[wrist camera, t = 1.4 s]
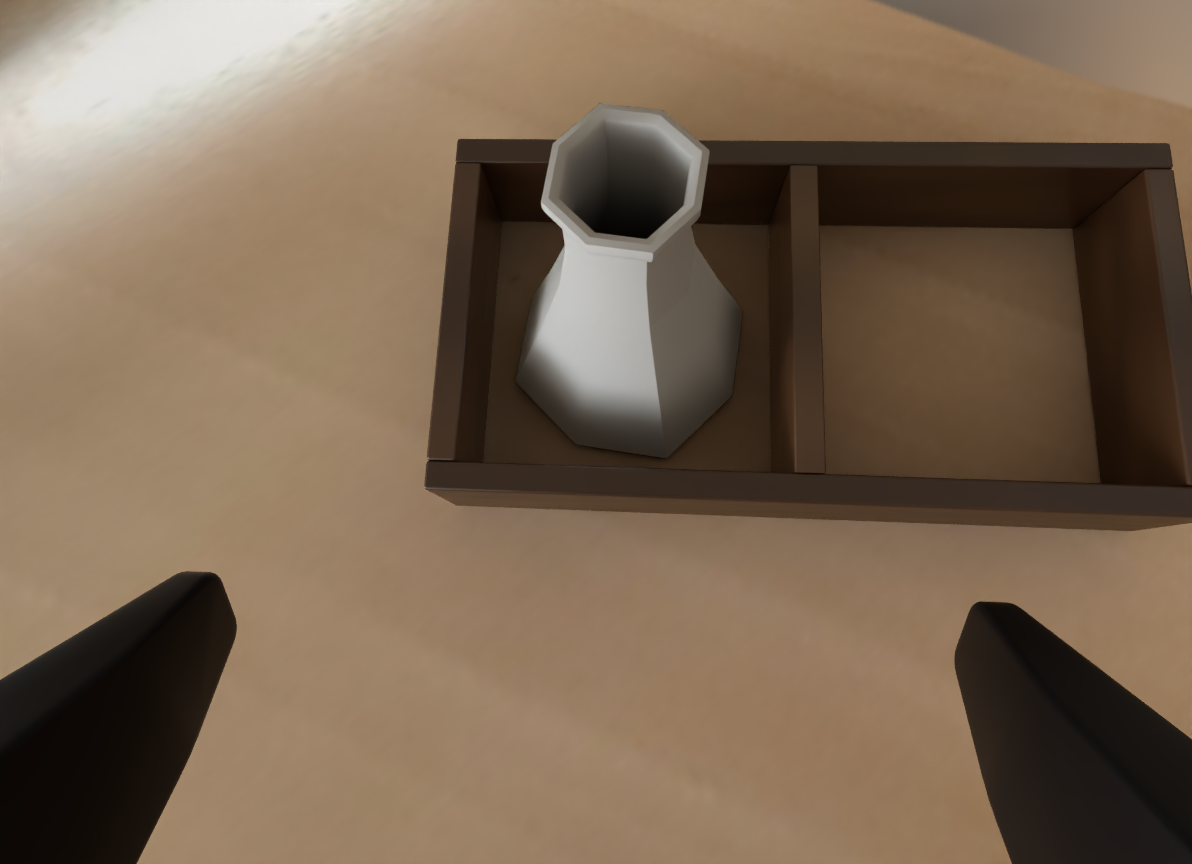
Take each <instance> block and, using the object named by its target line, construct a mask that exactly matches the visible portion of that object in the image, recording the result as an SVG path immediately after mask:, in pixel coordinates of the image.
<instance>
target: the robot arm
mask: <svg viewBox="0 0 1192 864" xmlns="http://www.w3.org/2000/svg"><path fill="white" fill-rule="evenodd" d="M236 630H237V624H236V618H235V615H234V612H233V610H232V607H231V604H230V602H229V599H228V596H227V594H226V591H225V589H224V586H223V583H222V581H221V579H220V578H219V577H218V576H217V575H216V574H215V573H211V572H191V571H186V572H181V573H178V574H176V575H174V576H172V577H171V578H169V579H167V580H166V581H164V582H162V583H161V584H159V585H157V586H156V587H154V588H152V589H151V590H149V591H147V592H146V593H144V594H142V595H141V596H139V597H137V598H136V599H134V600H132V601H131V602H129V603H127V604H126V605H124V606H122V607H121V608H119V609H117V610H116V611H114V612H113V613H111V614H109V615H108V616H106V617H104V618H103V619H101V620H99V621H98V622H96V623H94V624H93V625H91V626H89V627H88V628H86V629H84V630H83V631H81V632H79V633H78V634H76V635H74V636H73V637H71V638H69V639H68V640H66V641H64V642H63V643H61V644H59V645H58V646H56V647H54V648H53V649H51V650H49V651H48V652H46V653H44V654H43V655H41V656H39V657H38V658H36V659H34V660H33V661H31V662H29V663H28V664H26V665H24V666H23V667H21V668H19V669H18V670H16V671H14V672H13V673H11V674H9V675H8V676H6V677H4V678H3V679H1V680H0V864H137V862H138V860H139V858H140V856H141V854H142V852H143V850H144V848H145V846H146V844H147V842H148V840H149V838H150V836H151V834H152V832H153V830H154V828H155V826H156V824H157V822H158V820H159V818H160V816H161V814H162V812H163V810H164V808H165V806H166V804H167V802H168V800H169V798H170V796H171V794H172V792H173V790H174V788H175V786H176V784H177V782H178V780H179V778H180V776H181V774H182V771H183V769H184V767H185V765H186V763H187V761H188V759H189V757H190V754H191V752H192V750H193V747H194V745H195V742H196V740H197V738H198V735H199V732H200V730H201V727H202V725H203V722H204V719H205V717H206V714H207V711H208V709H209V706H210V704H211V701H212V698H213V696H214V693H215V690H216V688H217V685H218V682H219V680H220V677H221V675H222V672H223V669H224V667H225V664H226V661H227V659H228V656H229V654H230V651H231V648H232V646H233V643H234V640H235V636H236ZM955 670H956V675H957V679H958V682H959V686H960V690H961V694H962V698H963V702H964V706H965V710H966V714H967V718H968V722H969V726H970V730H971V734H972V738H973V742H974V746H975V749H976V753H977V757H978V761H979V765H980V769H981V773H982V777H983V781H984V784H985V788H986V791H987V795H988V798H989V801H990V804H991V807H992V810H993V813H994V816H995V819H996V822H997V824H998V827H999V830H1000V832H1001V835H1002V838H1003V841H1004V843H1005V846H1006V849H1007V851H1008V854H1009V857H1010V859H1011V862H1012V864H1192V739H1191V738H1189V737H1188V736H1187V735H1186V734H1184V733H1183V732H1182V731H1180V730H1179V729H1178V728H1176V727H1175V726H1174V725H1173V724H1171V723H1170V722H1169V721H1167V720H1166V719H1165V718H1163V717H1162V716H1161V715H1159V714H1158V713H1157V712H1156V711H1154V710H1153V709H1152V708H1150V707H1149V706H1148V705H1146V704H1145V703H1144V702H1142V701H1141V700H1140V699H1139V698H1137V697H1136V696H1135V695H1133V694H1132V693H1131V692H1129V691H1128V690H1127V689H1126V688H1124V687H1123V686H1122V685H1120V684H1119V683H1118V682H1116V681H1115V680H1114V679H1112V678H1111V677H1110V676H1109V675H1107V674H1106V673H1105V672H1103V671H1102V670H1101V669H1099V668H1098V667H1097V666H1095V665H1094V664H1093V663H1092V662H1090V661H1089V660H1088V659H1086V658H1085V657H1084V656H1082V655H1081V654H1080V653H1078V652H1077V651H1076V650H1075V649H1073V648H1072V647H1071V646H1069V645H1068V644H1067V643H1065V642H1064V641H1063V640H1062V639H1060V638H1059V637H1058V636H1056V635H1055V634H1054V633H1052V632H1051V631H1050V630H1048V629H1047V628H1046V627H1045V626H1043V625H1042V624H1041V623H1039V622H1038V621H1037V620H1035V619H1034V618H1033V617H1031V616H1030V615H1029V614H1028V613H1026V612H1025V611H1024V610H1022V609H1021V608H1019V607H1018V606H1016V605H1014V604H1011V603H1005V602H978V603H975V604H974V605H973V606H972V607H971V609H970V611H969V614H968V616H967V619H966V622H965V625H964V628H963V630H962V633H961V636H960V639H959V641H958V644H957V647H956V651H955Z"/></svg>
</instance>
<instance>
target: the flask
mask: <svg viewBox="0 0 1192 864" xmlns="http://www.w3.org/2000/svg"><path fill="white" fill-rule="evenodd" d="M709 151H710V150H709V149H707V148H706V147H705V146H704V145H703V144H702V143H700V142H699V141H698V140H697V139H696V138H695V137H693V136H692V135H691V134H690V133H689V132H688V131H687V130H685V129H684V128H683V127H682V126H681V125H680V124H678V123H677V122H676V121H675V120H674V119H673V118H671V117H670V116H669V115H668V114H667V113H666V112H665V111H663V110H656V109H647V108H639V107H630V106H621V105H612V104H603V103H599V104H598V105H597V106H596V107H594V108H593V109H592V110H591V111H590V112H589V113H588V114H586V115H585V116H584V117H583V118H582V119H581V120H579V121H578V122H577V123H576V124H575V125H574V126H573V127H571V128H570V129H569V130H568V131H567V132H566V133H565V134H563V135H562V136H561V137H560V138H559V139H558V140H556V141H555V142H554V143H553V145H552V150H551V155H550V160H549V165H548V170H547V174H546V179H545V184H544V189H543V194H542V199H541V206H542V209H543V210H544V212H545V213H546V214H547V215H548V216H549V217H550V218H551V219H552V220H553V221H554V222H556V223H557V224H558V225H559V226H560V227H561V228H562V230H563V236H564V242H565V245H564V247H563V249H562V251H561V253H560V254H559V256H558V258H557V260H556V262H555V264H554V265H553V267H552V269H551V271H550V272H549V274H548V275H547V276H546V278H545V279H544V281H543V282H542V284H541V285H540V286H539V288H538V289H537V291H536V292H535V294H534V296H533V298H532V300H531V305H530V310H529V315H528V320H527V325H526V330H525V335H524V340H523V345H522V350H521V355H520V360H519V365H518V370H517V375H516V380H515V382H516V383H517V384H518V385H519V386H520V387H521V388H522V389H523V390H524V391H525V392H526V394H527V395H528V396H529V397H530V398H531V399H532V400H533V401H534V402H535V403H536V404H537V405H538V406H539V407H540V408H541V409H542V410H543V411H544V412H545V413H546V414H547V415H548V416H549V417H550V418H551V419H552V420H553V421H554V422H555V423H556V424H557V425H558V426H559V427H560V428H561V429H562V430H563V432H564V433H565V434H566V435H567V436H568V437H569V438H570V439H571V440H572V441H573V442H574V443H575V444H577V445H583V446H590V447H596V448H603V449H609V450H615V451H622V452H628V453H635V454H641V455H648V456H654V457H661V458H668V457H669V456H670V455H671V454H672V453H673V452H674V451H675V450H676V449H677V448H678V447H679V446H680V445H681V444H682V443H683V442H685V441H686V440H687V439H688V438H689V437H690V436H691V435H692V434H693V433H694V432H695V431H696V430H697V429H698V428H699V427H700V426H701V425H702V424H703V423H704V422H705V421H706V420H707V419H708V418H709V417H711V416H712V415H713V414H714V413H715V412H716V411H717V410H718V409H719V408H720V407H721V406H722V405H723V404H724V403H725V402H726V401H727V400H728V399H729V398H730V397H731V396H732V391H733V383H734V376H735V368H736V360H737V353H738V345H739V338H740V330H741V323H742V315H743V311H742V309H741V308H740V306H739V305H738V303H737V302H736V301H735V299H734V298H733V297H732V296H731V295H730V293H729V292H728V291H727V290H726V288H725V287H724V286H723V285H722V283H721V282H720V281H719V280H718V278H717V277H716V275H715V274H714V272H713V271H712V269H711V267H710V266H709V264H708V263H707V261H706V260H705V258H704V257H703V255H702V254H701V252H700V251H699V249H698V248H697V246H696V245H695V240H694V236H693V231H692V227H691V226H692V225H693V224H694V223H695V222H696V221H697V220H698V218H699V217H700V214H701V207H702V201H703V194H704V187H705V181H706V174H707V167H708V161H709Z"/></svg>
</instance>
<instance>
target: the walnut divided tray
mask: <svg viewBox="0 0 1192 864" xmlns="http://www.w3.org/2000/svg"><path fill="white" fill-rule="evenodd" d="M555 141H556V140H543V139H458V142H457V152H456V165H455V174H454V184H453V194H452V204H451V215H450V225H449V235H448V245H447V256H446V266H445V276H444V287H443V297H442V307H441V317H440V328H439V338H438V348H437V358H436V369H435V379H434V389H433V400H432V410H431V420H430V430H429V441H428V451H427V459H428V460H429V461H428V462H427V464H426V473H425V483H424V487H425V489H426V490H428V491H430V492H432V493H434V494H436V495H438V496H440V497H442V498H443V499H445V500H447V501H449V502H451V503H453V504H455V505H458V506H485V507H511V508H538V509H564V510H591V511H617V512H644V513H670V514H697V515H723V516H750V517H776V518H803V519H829V520H856V521H882V522H908V523H935V524H961V525H988V526H1014V527H1041V528H1067V529H1094V530H1120V531H1135V530H1142V529H1150V528H1157V527H1164V526H1172V525H1179V524H1186V523H1192V294H1191V287H1190V280H1189V273H1188V267H1187V260H1186V253H1185V246H1184V240H1183V233H1182V226H1181V219H1180V213H1179V206H1178V199H1177V192H1176V186H1175V179H1174V172H1173V170H1172V167H1173V164H1172V157H1171V150H1170V145H1169V144H1167V143H1012V142H856V141H699V140H698V141H699V142H700V143H702V144H703V145H704V146H705V147H706V148H707V149H709V150H710V151H709V161H708V167H707V174H706V181H705V187H704V194H703V201H702V207H701V214H700V217H699V218H698V220H697V221H696V222H695V223H712V224H769V323H770V427H771V472H750V471H721V470H691V469H662V468H632V467H603V466H574V465H544V464H515V463H485V462H483V453H484V440H485V428H486V415H487V403H488V390H489V378H490V365H491V353H492V340H493V328H494V315H495V303H496V290H497V278H498V265H499V253H500V240H501V228H502V222H501V221H553V220H552V219H551V218H550V217H549V216H548V215H547V214H546V213H545V212H544V210H543V209H542V206H541V199H542V194H543V189H544V184H545V179H546V174H547V170H548V165H549V160H550V155H551V150H552V145H553V143H554V142H555ZM819 225H861V226H936V227H1011V228H1075V229H1074V231H1073V233H1074V242H1075V251H1076V260H1077V269H1078V278H1079V287H1080V296H1081V305H1082V314H1083V323H1084V332H1085V341H1086V350H1087V359H1088V368H1089V377H1090V386H1091V395H1092V404H1093V412H1094V421H1095V430H1096V439H1097V448H1098V457H1099V466H1100V475H1101V483H1073V482H1044V481H1015V480H985V479H956V478H926V477H897V476H868V475H838V474H825V472H826V462H825V424H824V387H823V349H822V312H821V274H820V237H819Z"/></svg>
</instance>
